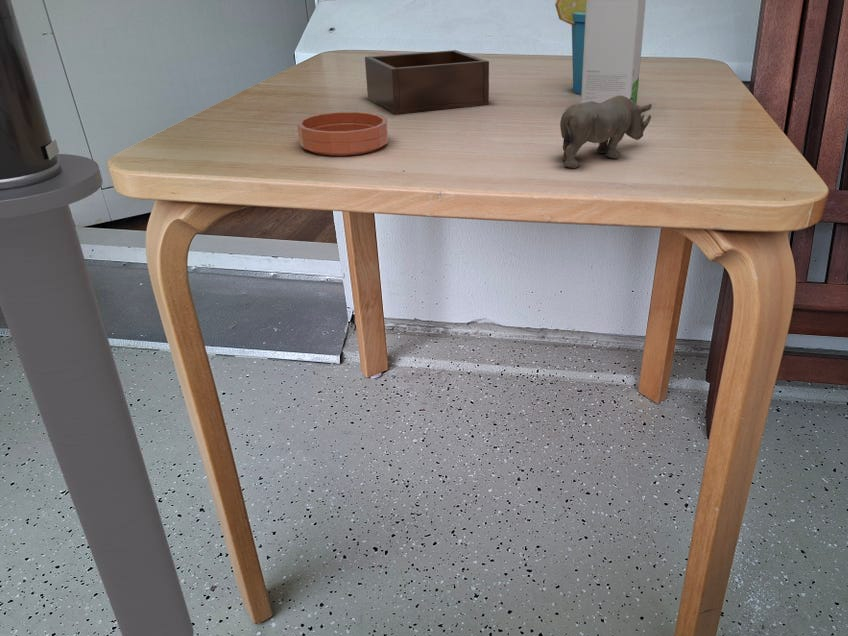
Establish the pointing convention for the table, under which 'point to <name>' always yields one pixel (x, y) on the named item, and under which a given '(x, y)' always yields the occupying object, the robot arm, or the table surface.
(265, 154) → the table surface
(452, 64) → the box
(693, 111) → the table surface
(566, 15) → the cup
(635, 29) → the cosmetic box
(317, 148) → the bowl
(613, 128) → the rhino figurine
